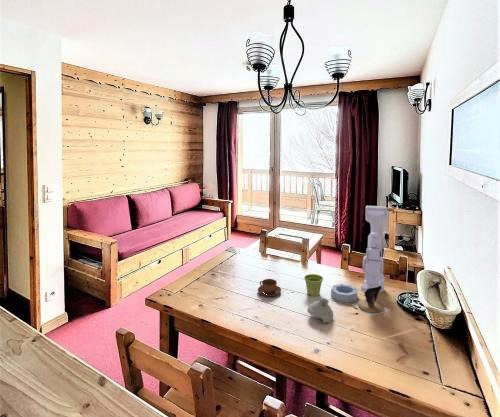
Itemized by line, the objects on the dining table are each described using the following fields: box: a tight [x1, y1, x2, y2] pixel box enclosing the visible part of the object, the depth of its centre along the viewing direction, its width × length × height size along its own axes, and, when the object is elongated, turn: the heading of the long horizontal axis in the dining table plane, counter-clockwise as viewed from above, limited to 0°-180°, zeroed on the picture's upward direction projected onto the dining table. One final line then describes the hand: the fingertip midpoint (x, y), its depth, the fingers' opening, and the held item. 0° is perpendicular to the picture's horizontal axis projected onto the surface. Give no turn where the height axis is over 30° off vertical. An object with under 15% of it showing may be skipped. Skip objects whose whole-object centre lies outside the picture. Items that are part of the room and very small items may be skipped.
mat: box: [351, 301, 392, 317], centre depth 146 cm, size 12×12×1 cm
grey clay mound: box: [306, 297, 334, 324], centre depth 138 cm, size 12×12×11 cm
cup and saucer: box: [257, 278, 282, 297], centre depth 163 cm, size 12×12×6 cm
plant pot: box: [303, 273, 324, 297], centre depth 161 cm, size 9×9×9 cm
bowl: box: [330, 283, 358, 303], centre depth 157 cm, size 12×12×4 cm
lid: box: [357, 295, 385, 314], centre depth 146 cm, size 11×11×6 cm
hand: (371, 301), depth 146 cm, fingers closed on lid, 3 cm apart
